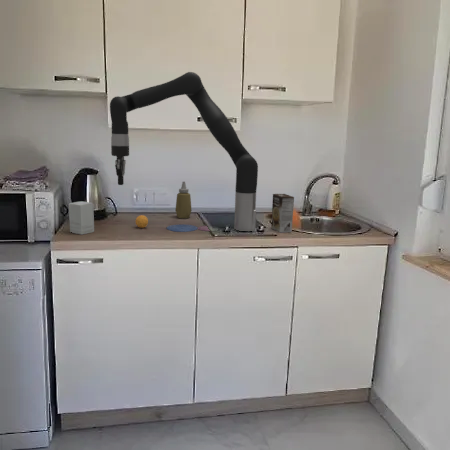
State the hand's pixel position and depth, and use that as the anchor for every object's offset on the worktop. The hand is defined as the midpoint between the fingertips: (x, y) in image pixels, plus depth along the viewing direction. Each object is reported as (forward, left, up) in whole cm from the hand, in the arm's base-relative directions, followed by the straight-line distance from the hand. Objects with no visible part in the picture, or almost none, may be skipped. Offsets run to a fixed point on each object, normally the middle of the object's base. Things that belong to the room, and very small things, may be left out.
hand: (120, 184), depth 207 cm
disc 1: (-27, 0, -19) cm, 33 cm away
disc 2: (-39, 0, -19) cm, 43 cm away
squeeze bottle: (-27, -24, -19) cm, 41 cm away
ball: (-9, 0, -16) cm, 19 cm away
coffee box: (-72, +1, -19) cm, 74 cm away
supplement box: (+15, +10, -19) cm, 27 cm away
